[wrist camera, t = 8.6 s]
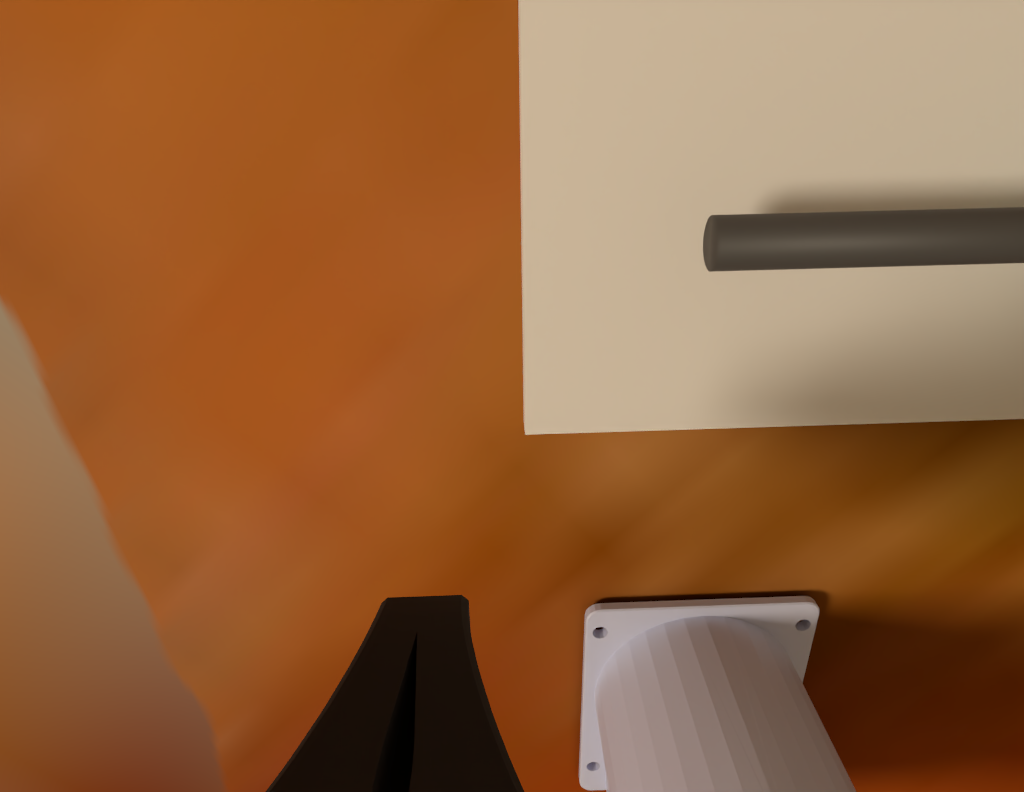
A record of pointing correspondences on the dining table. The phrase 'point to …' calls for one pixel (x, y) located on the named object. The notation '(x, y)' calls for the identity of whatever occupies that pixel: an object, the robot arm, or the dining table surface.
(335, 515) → the dining table surface
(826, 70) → the rod stand
